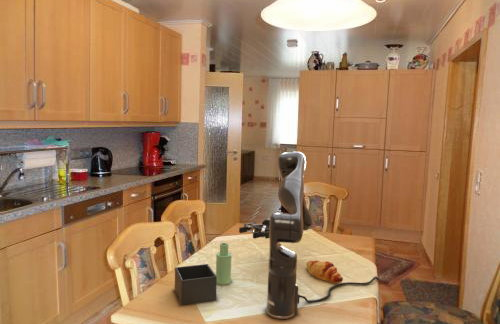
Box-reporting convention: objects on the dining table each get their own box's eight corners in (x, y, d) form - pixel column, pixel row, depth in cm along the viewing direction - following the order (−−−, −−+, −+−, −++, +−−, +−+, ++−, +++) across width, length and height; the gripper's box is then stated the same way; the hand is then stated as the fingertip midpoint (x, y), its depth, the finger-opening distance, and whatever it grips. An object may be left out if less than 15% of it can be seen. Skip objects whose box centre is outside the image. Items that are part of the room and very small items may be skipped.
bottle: (228, 277, 155) (229, 241, 153) (232, 283, 149) (233, 245, 148) (214, 279, 153) (215, 242, 151) (218, 285, 147) (219, 247, 146)
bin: (207, 285, 147) (207, 263, 146) (216, 300, 135) (216, 276, 134) (174, 289, 142) (175, 267, 141) (181, 305, 131) (181, 280, 130)
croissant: (301, 275, 167) (295, 261, 165) (317, 261, 172) (311, 247, 169) (336, 294, 149) (330, 278, 147) (353, 278, 154) (347, 262, 151)
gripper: (264, 214, 172) (235, 220, 161) (287, 221, 161) (258, 228, 151) (263, 230, 173) (235, 237, 162) (286, 239, 162) (257, 247, 152)
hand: (246, 233), depth 156 cm, fingers open, 8 cm apart
